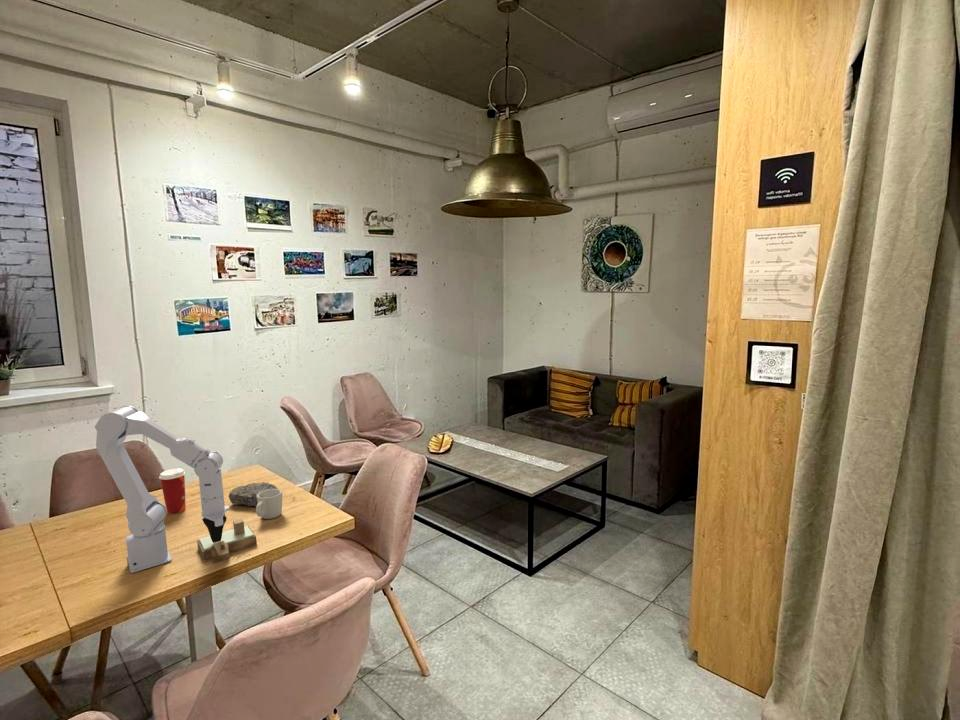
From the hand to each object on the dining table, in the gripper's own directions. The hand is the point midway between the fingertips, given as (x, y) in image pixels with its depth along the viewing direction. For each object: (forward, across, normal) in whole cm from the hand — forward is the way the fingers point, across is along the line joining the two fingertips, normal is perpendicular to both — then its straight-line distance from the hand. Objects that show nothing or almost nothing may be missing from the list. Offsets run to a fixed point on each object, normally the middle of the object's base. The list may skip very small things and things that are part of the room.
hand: (216, 541), depth 143 cm
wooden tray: (+4, +1, -3) cm, 5 cm away
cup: (+4, +14, -18) cm, 23 cm away
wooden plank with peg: (0, -6, 0) cm, 6 cm away
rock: (+4, +32, -18) cm, 37 cm away
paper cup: (+4, +42, +5) cm, 43 cm away
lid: (+1, +2, -3) cm, 4 cm away
